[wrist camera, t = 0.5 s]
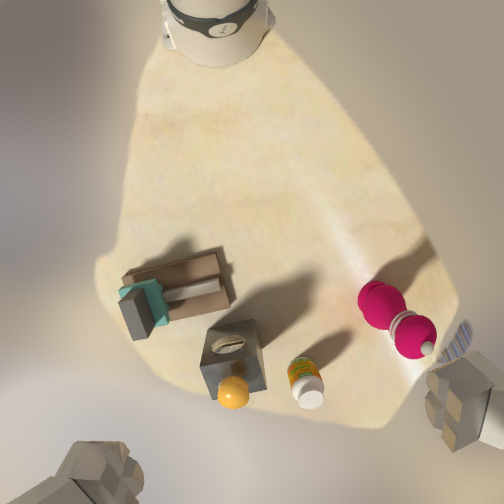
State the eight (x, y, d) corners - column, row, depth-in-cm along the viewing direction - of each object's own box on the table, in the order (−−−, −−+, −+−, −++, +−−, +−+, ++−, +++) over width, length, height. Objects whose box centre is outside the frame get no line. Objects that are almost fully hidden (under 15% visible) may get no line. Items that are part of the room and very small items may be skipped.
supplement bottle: (307, 350, 55) (318, 381, 46) (321, 370, 56) (333, 401, 47) (281, 365, 56) (288, 397, 46) (296, 384, 57) (304, 417, 47)
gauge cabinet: (206, 326, 53) (198, 363, 42) (252, 316, 53) (256, 351, 42) (217, 359, 55) (212, 399, 43) (261, 349, 55) (266, 389, 43)
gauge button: (214, 379, 40) (213, 388, 38) (244, 373, 40) (244, 382, 38) (223, 402, 41) (222, 411, 39) (252, 396, 40) (252, 405, 39)
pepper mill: (362, 273, 52) (420, 320, 33) (397, 282, 53) (461, 328, 33) (349, 313, 54) (396, 374, 34) (383, 319, 54) (438, 377, 35)
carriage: (125, 283, 50) (106, 301, 41) (158, 275, 49) (143, 292, 41) (139, 322, 51) (123, 345, 43) (172, 315, 51) (160, 339, 43)
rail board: (124, 275, 51) (118, 280, 48) (215, 252, 51) (214, 256, 48) (141, 323, 53) (137, 331, 50) (230, 304, 53) (230, 311, 50)
